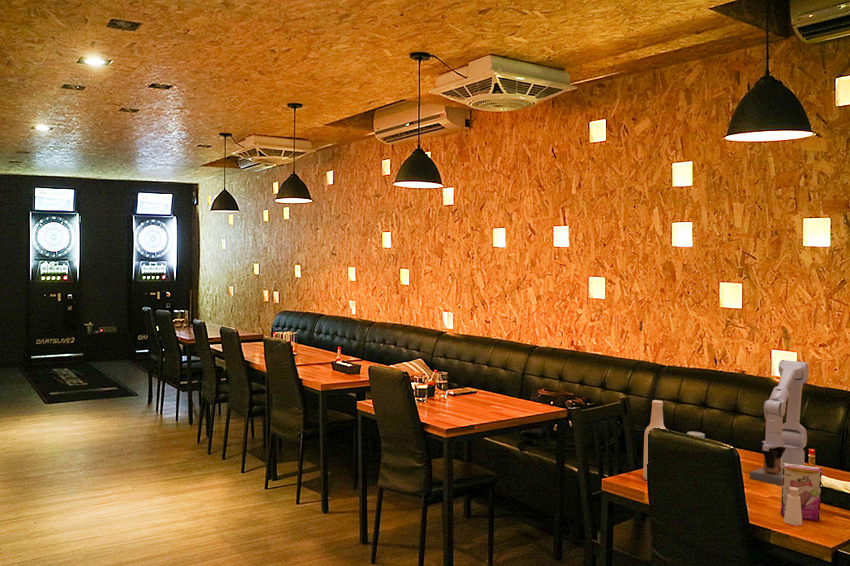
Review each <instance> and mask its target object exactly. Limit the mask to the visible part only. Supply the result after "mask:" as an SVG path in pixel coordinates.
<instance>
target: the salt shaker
mask: <svg viewBox="0 0 850 566" xmlns="http://www.w3.org/2000/svg"><path fill="white" fill-rule="evenodd" d="M798 491H799V489H798V488H795V487H790V488H789V495H788V496H787V502H786V509H785V516H783V517H784V519H783V522H784V523H785V524H787V525H791V526H802V525H803V519H802V514H801V502H800V496H798V494H799V492H798Z"/></svg>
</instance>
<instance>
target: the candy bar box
mask: <svg viewBox="0 0 850 566" xmlns="http://www.w3.org/2000/svg"><path fill="white" fill-rule="evenodd" d="M821 469H822V468H821V467H819V466H818V467H817V466H811V465H810V466H809V465H805V464H804V465H796V464H789V463H783V467H782V469H781V471H782V486H781V493H780V495H781V496H780V515H781V516H783V517H784V516H785V509H786V502H787V496H788V495H789V488H790V487H795V488H798V489H799V491H798V492H799V494H798V496H800V502H801V514H802V520H810V521H817V522H820V514H821V493H822V492H821V491H822V470H821Z"/></svg>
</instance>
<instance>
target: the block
mask: <svg viewBox="0 0 850 566" xmlns="http://www.w3.org/2000/svg"><path fill="white" fill-rule="evenodd" d="M763 467H764V471H767V472H772V473H778V472H780V471H782V469H781V458H777V457H775V462H774V467H773V469H772V468H767V466H766V461H765V457H763Z"/></svg>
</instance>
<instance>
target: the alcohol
mask: <svg viewBox="0 0 850 566" xmlns="http://www.w3.org/2000/svg"><path fill="white" fill-rule="evenodd" d="M663 407H664V402H663V400H657V399H654V400H652V401H651V413H650V423H649V424H648V426H646V428H645V431H644V435H643V438H644V439H643V475H642V477H643V479H644V480H645V481H646V480H647V464H648V434H649V431H650V430H651V429H653V428H660V429H666V430H667V431H668V429H667V428H666V427H665V424H664V410H663Z"/></svg>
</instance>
